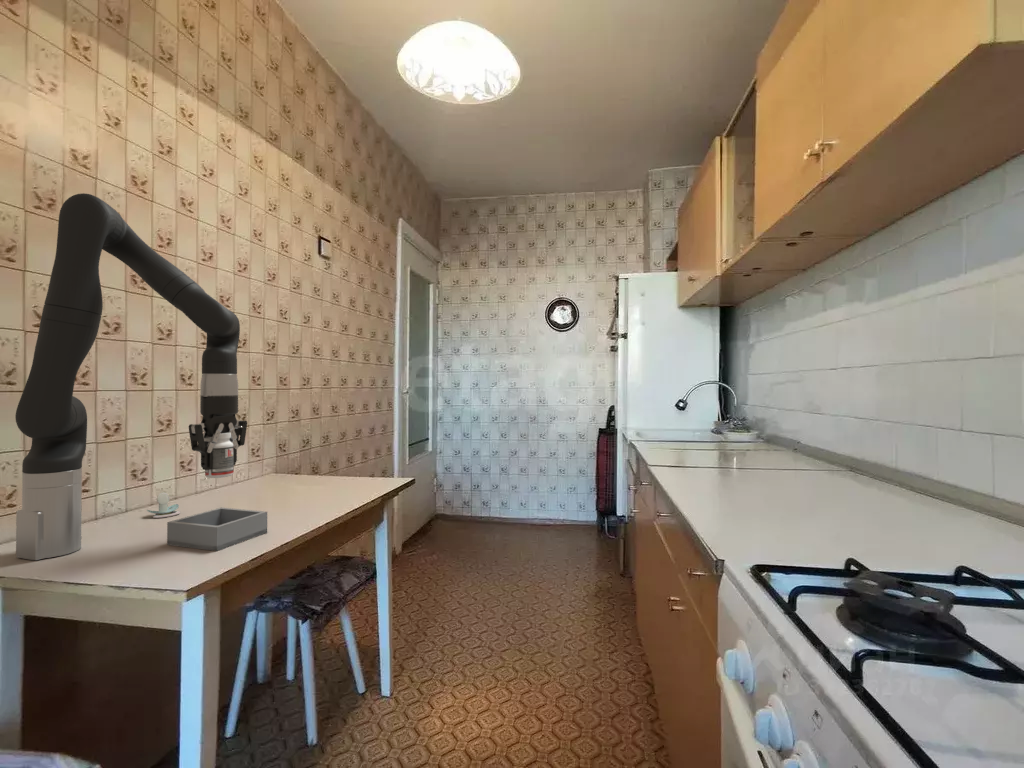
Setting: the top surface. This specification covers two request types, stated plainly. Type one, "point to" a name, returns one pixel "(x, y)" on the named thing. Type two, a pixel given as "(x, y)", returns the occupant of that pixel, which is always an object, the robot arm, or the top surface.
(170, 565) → the top surface
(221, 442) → the pill bottle
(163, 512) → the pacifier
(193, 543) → the bin
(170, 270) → the robot arm
